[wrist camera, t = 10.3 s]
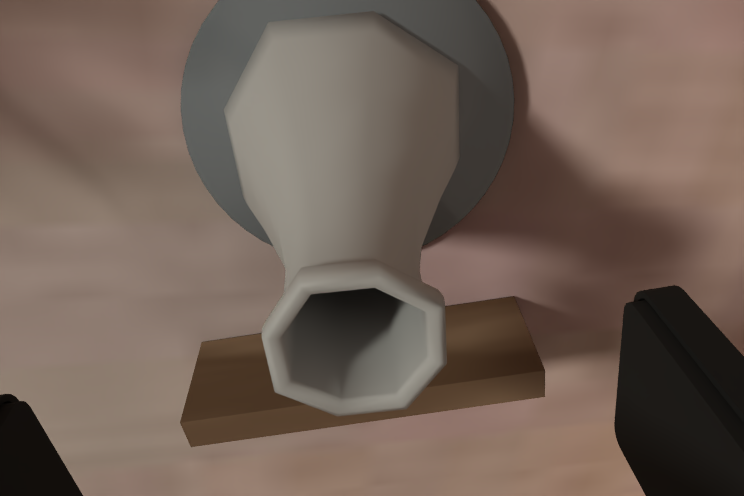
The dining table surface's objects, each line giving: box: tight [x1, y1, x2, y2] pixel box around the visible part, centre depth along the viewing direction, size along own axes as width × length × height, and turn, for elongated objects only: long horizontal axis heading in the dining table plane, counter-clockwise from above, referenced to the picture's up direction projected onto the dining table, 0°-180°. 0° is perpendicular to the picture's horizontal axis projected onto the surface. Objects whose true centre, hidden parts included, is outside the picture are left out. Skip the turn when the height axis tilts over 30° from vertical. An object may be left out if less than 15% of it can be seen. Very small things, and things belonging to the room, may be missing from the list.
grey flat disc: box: [181, 0, 514, 246], centre depth 19 cm, size 10×10×1 cm
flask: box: [224, 11, 460, 416], centre depth 15 cm, size 7×7×10 cm
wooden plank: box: [180, 296, 545, 447], centre depth 22 cm, size 1×12×4 cm, turn 98°
